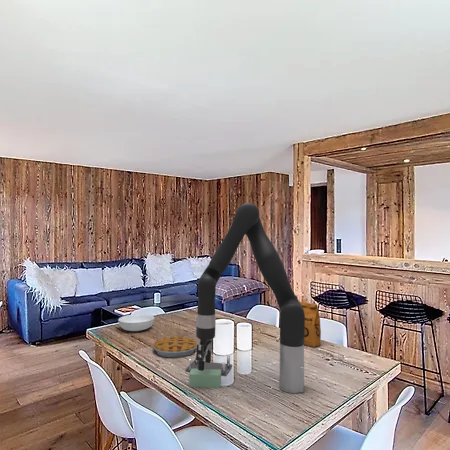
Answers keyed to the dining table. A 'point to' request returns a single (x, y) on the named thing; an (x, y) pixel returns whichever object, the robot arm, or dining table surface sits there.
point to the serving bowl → (136, 322)
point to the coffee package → (311, 324)
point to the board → (205, 378)
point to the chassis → (211, 366)
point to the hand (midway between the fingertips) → (204, 366)
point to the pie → (175, 346)
